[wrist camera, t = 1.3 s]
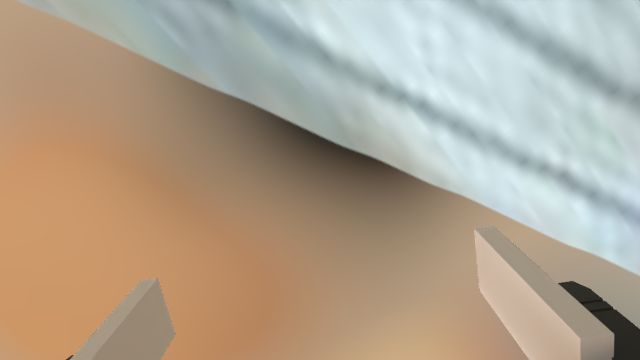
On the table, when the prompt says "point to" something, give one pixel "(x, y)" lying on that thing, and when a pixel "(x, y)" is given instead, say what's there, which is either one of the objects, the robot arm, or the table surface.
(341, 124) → the table surface
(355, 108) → the table surface
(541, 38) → the table surface
